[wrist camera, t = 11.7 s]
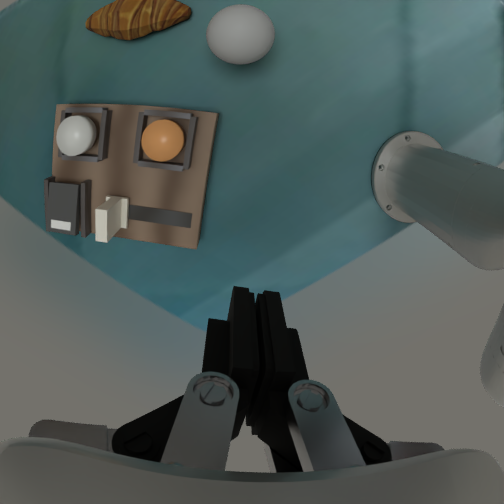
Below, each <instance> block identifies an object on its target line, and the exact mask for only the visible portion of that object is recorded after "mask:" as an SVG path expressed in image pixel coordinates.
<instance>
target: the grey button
mask: <svg viewBox="0 0 504 504" xmlns="http://www.w3.org/2000/svg"><path fill="white" fill-rule="evenodd" d="M95 139H96V127H95V124H94V122H93V121H92V120H91V119H90V118H89V117H87V116H84V115H79V116H70V117H68V118H66V119H65V120H63V121H62V123H61V124H60V125H59V127H58V130H57V135H56V140H57V145H58V147H59V149H60V150H61V152H62V153H64V154H65V155H68V156H76V155H79V154H82V153H85V152H87V151H88V150H89V149H90V148H91V147H92V146H93V144H94V142H95Z"/></svg>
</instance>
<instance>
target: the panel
mask: <svg viewBox="0 0 504 504" xmlns="http://www.w3.org/2000/svg"><path fill="white" fill-rule="evenodd" d="M79 115H84V116H87V117H89V118H90V119H91V120H92V121H93V122H94V124H95V127H96V139H95V142H94V144H93V146H92V147H91V148H90V149H89V150H88V151H87V152H85V153H82V154H79V155H76V156H68V155H65V154H64V153H62V152H61V150H60V149H59V147H58V145H57V140H56V135H57V130H58V127H59V125H60V124H61V123H62V121H63V120H65V119H66V118H68V117H70V116H79ZM218 116H219V113H212V112H204V111H196V110H187V109H178V108H167V107H155V106H141V105H120V104H60V105H57V108H56V117H55V128H54V142H53V166H52V176H51V177H49V178H46V179H44V195H45V217H46V231H47V214H48V195H49V182H63V183H73V184H81V203H80V219H79V231H81V237H85V238H86V237H87V236H88V235H89V234H90V233H96V228H95V209H96V208H97V207H99V206H100V205H101V204H103V203H104V202H105V201H106V196H107V195H110V196H118V197H126V198H129V211H128V227H127V228H120V229H119V230H118V231H117V232H116V234H115V235H114V236H115V237H121V238H127V239H133V240H140V241H146V242H153V243H159V244H165V245H172V246H178V247H185V248H191V249H197V246H198V243H199V239H200V231H201V224H202V217H203V209H204V202H205V195H206V189H207V182H208V176H209V169H210V163H211V157H212V151H213V145H214V139H215V133H216V127H217V122H218ZM164 119H169V120H173V121H175V122H177V123H179V124H180V125H181V126H182V128H183V130H184V132H185V136H186V141H185V145H184V148H183V149H182V151H181V152H180V153H179V154H178V155H177V156H175V157H174V158H172V159H170V160H168V161H162V162H161V161H155V160H153V159H151V158H149V157H148V156H147V155H146V154H145V152H144V150H143V148H142V143H141V139H142V135H143V132H144V130H145V129H146V127H147V126H148V125H149V124H151V123H152V122H154V121H157V120H164ZM49 232H50V231H49Z"/></svg>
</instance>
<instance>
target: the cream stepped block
mask: <svg viewBox="0 0 504 504" xmlns="http://www.w3.org/2000/svg"><path fill="white" fill-rule="evenodd" d="M128 211H129V198H126V197H118V196H110V195H107V196H106V201H105V202H104V203H103V204H101V205H100V206H99V207H97V208H96V209H95V228H96V241H100V242H106V243H107V242H108V241H109V240H110V239H111V238H112V237H113V236H114V235H115V234H116V232H117V231H118V230H119V229H120V228H127V227H128Z"/></svg>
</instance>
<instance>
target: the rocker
mask: <svg viewBox="0 0 504 504" xmlns="http://www.w3.org/2000/svg"><path fill="white" fill-rule="evenodd" d="M80 203H81V184H73V183H63V182H49V195H48V214H47V231H52V232H58V233H64V234H69V235H77V234H79V219H80Z"/></svg>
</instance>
